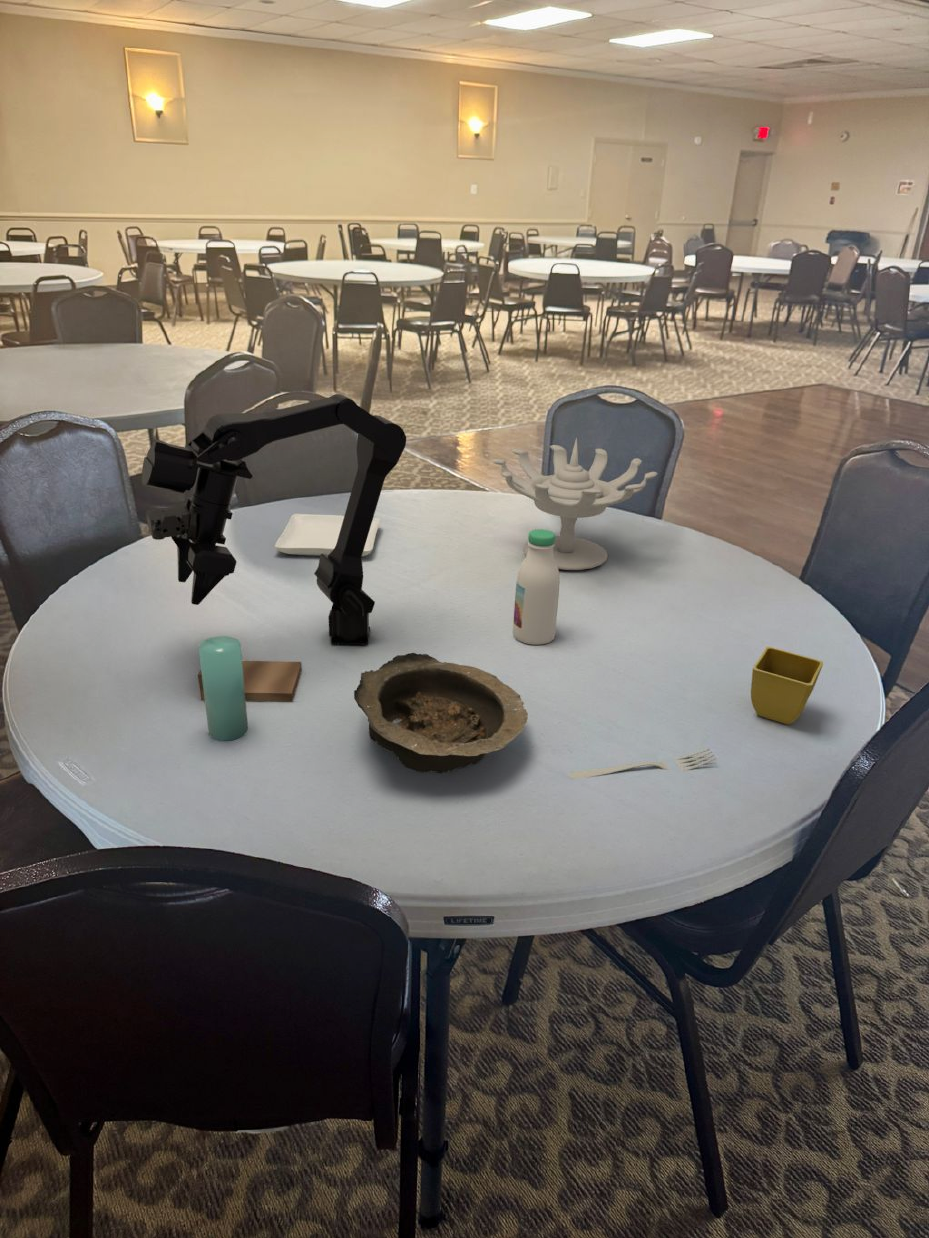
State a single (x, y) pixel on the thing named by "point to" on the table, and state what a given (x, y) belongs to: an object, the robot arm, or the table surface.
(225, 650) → the mint green capsule
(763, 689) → the flower pot
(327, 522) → the salad plate
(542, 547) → the milk bottle
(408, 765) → the stone bowl
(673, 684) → the table surface
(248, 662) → the shelf board
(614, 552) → the table surface
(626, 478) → the candelabra
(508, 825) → the table surface
